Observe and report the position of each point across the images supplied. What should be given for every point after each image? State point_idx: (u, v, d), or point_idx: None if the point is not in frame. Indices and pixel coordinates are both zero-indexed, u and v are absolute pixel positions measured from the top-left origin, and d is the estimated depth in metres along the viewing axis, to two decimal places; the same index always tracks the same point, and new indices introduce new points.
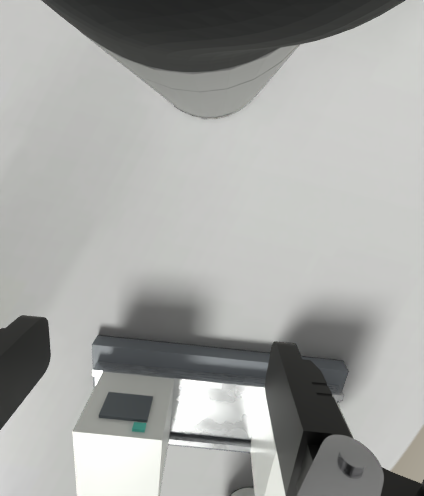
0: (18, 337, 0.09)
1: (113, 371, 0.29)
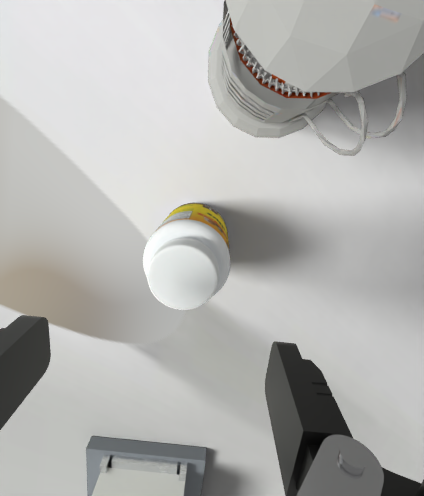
0: (18, 337, 0.09)
1: (184, 486, 0.32)
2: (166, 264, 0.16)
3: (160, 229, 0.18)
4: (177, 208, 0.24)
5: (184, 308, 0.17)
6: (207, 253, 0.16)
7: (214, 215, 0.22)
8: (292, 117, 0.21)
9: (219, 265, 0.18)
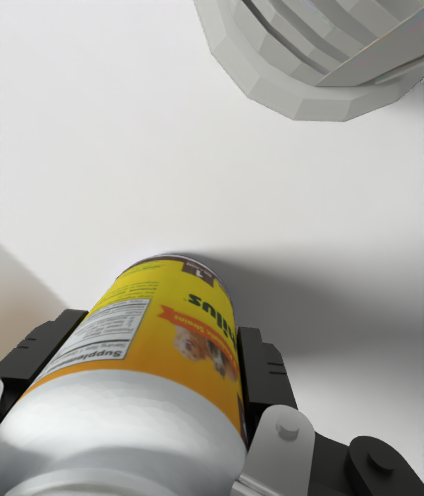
0: (69, 328, 0.09)
1: None
2: None
3: (22, 410, 0.05)
4: (129, 271, 0.11)
5: None
6: None
7: (206, 296, 0.10)
8: (402, 64, 0.08)
9: None
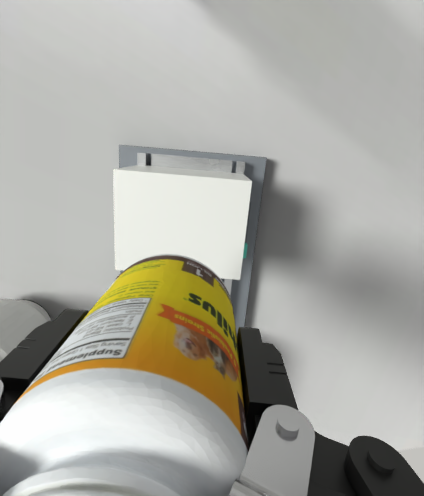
0: (69, 328, 0.09)
1: None
2: None
3: (22, 409, 0.05)
4: (129, 270, 0.11)
5: None
6: None
7: (206, 295, 0.10)
8: None
9: None
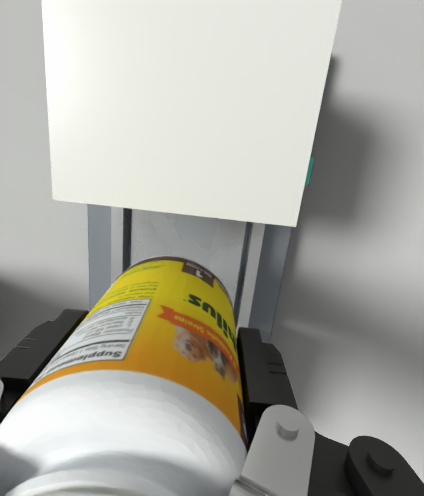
0: (69, 328, 0.09)
1: None
2: None
3: (22, 411, 0.05)
4: (129, 271, 0.11)
5: None
6: None
7: (206, 296, 0.10)
8: None
9: None
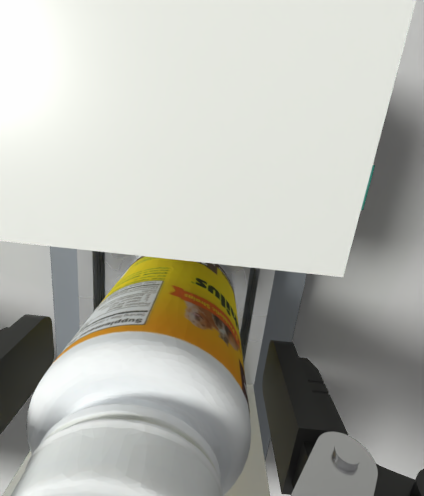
0: (23, 336, 0.09)
1: None
2: None
3: (63, 363, 0.07)
4: (141, 260, 0.13)
5: None
6: (187, 488, 0.05)
7: (211, 280, 0.11)
8: None
9: (223, 455, 0.07)
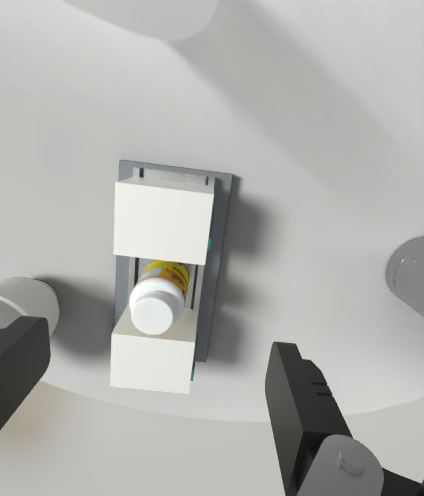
0: (18, 337, 0.09)
1: None
2: (143, 308, 0.27)
3: (140, 284, 0.29)
4: (154, 260, 0.35)
5: (153, 334, 0.28)
6: (167, 302, 0.27)
7: (178, 267, 0.34)
8: None
9: (176, 306, 0.29)
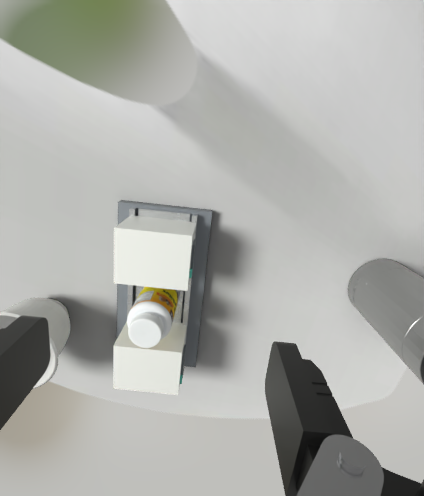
0: (18, 337, 0.09)
1: None
2: (137, 327, 0.34)
3: (135, 306, 0.36)
4: None
5: (146, 347, 0.35)
6: (156, 322, 0.34)
7: (167, 290, 0.41)
8: None
9: (165, 324, 0.36)
